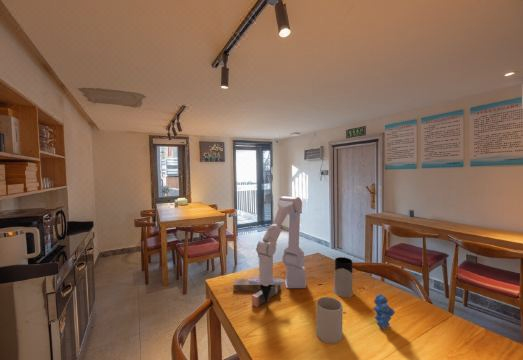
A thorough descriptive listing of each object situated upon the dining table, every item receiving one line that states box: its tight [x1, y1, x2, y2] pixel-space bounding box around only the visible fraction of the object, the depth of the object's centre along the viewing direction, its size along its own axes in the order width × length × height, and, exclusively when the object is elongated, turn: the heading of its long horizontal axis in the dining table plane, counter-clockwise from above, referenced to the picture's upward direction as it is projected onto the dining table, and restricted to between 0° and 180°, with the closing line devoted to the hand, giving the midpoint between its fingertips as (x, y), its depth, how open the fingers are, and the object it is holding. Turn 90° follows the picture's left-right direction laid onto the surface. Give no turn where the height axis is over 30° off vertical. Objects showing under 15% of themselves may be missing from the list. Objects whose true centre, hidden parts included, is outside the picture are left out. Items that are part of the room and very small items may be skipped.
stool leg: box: [251, 285, 279, 308], centre depth 102 cm, size 15×3×4 cm, turn 141°
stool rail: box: [232, 277, 281, 292], centre depth 110 cm, size 22×10×5 cm, turn 90°
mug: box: [315, 296, 344, 345], centre depth 81 cm, size 12×8×11 cm
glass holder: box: [332, 256, 354, 298], centre depth 110 cm, size 9×14×15 cm, turn 158°
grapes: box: [373, 293, 396, 329], centre depth 83 cm, size 12×7×12 cm, turn 169°
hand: (266, 301), depth 98 cm, fingers closed
